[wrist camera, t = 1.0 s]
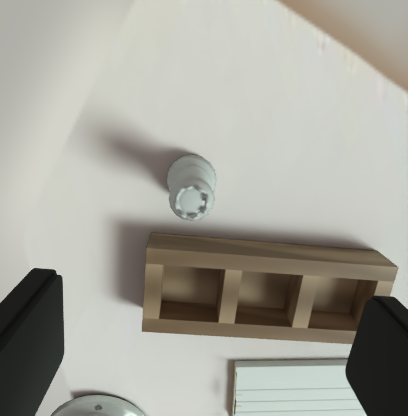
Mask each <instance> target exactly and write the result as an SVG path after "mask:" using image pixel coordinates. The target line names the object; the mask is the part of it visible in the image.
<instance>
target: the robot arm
mask: <svg viewBox="0 0 408 416" xmlns="http://www.w3.org/2000/svg"><path fill="white" fill-rule="evenodd" d="M63 355H64V319H63V281H62V276H61V275H57V273H56V271H55V270H52V269H40V268H34V269H32V270H31V271H30V272H29V273H28V274H27V276H25V277H24V279H23V280H22V281H21V282H20V283H19V284H18V285H17V286H16V287H15V288H14V289H13V290H12V291H11V292H10V293H9V294H8V295H7V297H6V298H5V299H4V300H3V301H2V302H1V303H0V416H35V414H36V412H37V410H38V408H39V406H40V404H41V402H42V400H43V398H44V396H45V394H46V392H47V390H48V388H49V386H50V384H51V382H52V380H53V378H54V376H55V374H56V372H57V370H58V368H59V366H60V364H61V362H62V359H63ZM345 374H346V378H347V381H348V382H349V384H350V386H351V388H352V390H353V392H354V393H355V395H356V397H357V399H358V401H359V402H360V404H361V406H362V408H363V410H364V411H365V413H366V415H367V416H408V309H407V308H406V307H404V306H403V305H402V304H401V303H400V302H399V301H398V300H397V299H396V298H395V297H390V296H377V295H375V296H373V297H372V298H371V299H370V300H367V301H366V303H365V306H364V309H363V312H362V315H361V319H360V322H359V325H358V328H357V332H356V335H355V338H354V341H353V345H352V348H351V351H350V354H349V358H348V361H347V364H346V368H345ZM51 416H145V415H144V413H142V412H141V411H140V410H139V409H138V408H137V407H135V406H134V405H132V404H130V403H129V402H127V401H124V400H122V399H119V398H115V397H111V396H104V395H90V396H83V397H79V398H75V399H73V400H70V401H68V402H66V403H64V404H63V405H61V406H60V407H58V408H57V409H56V410H55V411H54V412H53V413H52V415H51Z"/></svg>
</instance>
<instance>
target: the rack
mask: <svg viewBox="0 0 408 416" xmlns="http://www.w3.org/2000/svg"><path fill="white" fill-rule="evenodd" d="M398 268H399V267H397V266H396V265H395V264H394V263H392V262H391V261H390V260H388V259H387V258H386V257H385V256H383V255H382V254H381V253H380V252H378V251H372V250H359V249H347V248H334V247H322V246H309V245H297V244H284V243H272V242H259V241H247V240H234V239H222V238H209V237H197V236H185V235H172V234H160V233H151V235H150V238H149V241H148V245H147V248H146V266H145V284H144V302H143V320H142V332H158V333H175V334H191V335H208V336H225V337H242V338H258V339H275V340H292V341H309V342H326V343H342V344H353V341H354V338H355V335H356V332H357V328H358V325H359V322H360V319H361V315H362V312H363V309H364V306H365V303H366V301H367V300H370V299H371V298H372V297H373V296H375V295H377V296H390V293H391V290H392V287H393V284H394V280H395V277H396V274H397V271H398Z"/></svg>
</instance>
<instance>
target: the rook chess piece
mask: <svg viewBox="0 0 408 416" xmlns="http://www.w3.org/2000/svg"><path fill="white" fill-rule="evenodd" d="M167 184H168V188H169V191H170V196H169V202H170V206H171V209H172V210H173V211H174V213H175V214H176V215H177V216H179V217H180V218H182V219H185V220H190V221H194V220H199V219H202V218H203V217H205V216H206V215H208V214H209V212H210V211H211V209H212V208H213V205H214V200H215V198H214V189H215V185H216V175H215V170H214V169H213V167H212V165H211V164H210V162H208V161H207V160H205V159H204V158H203V157H200V156H196V155H187V156H182V157H181V158H179V159H178V160H176V161H175V162H174V163H173V164H172V166H171V167H170V169H169V171H168V176H167Z"/></svg>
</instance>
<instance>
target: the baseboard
mask: <svg viewBox="0 0 408 416" xmlns="http://www.w3.org/2000/svg"><path fill="white" fill-rule="evenodd" d="M347 361H348V359H328V360H261V361H235V366H234V383H233V401H232V416H367V415H366V413H365V411H364V410H363V408H362V406H361V404H360V402H359V401H358V399H357V397H356V395H355V393H354V392H353V390H352V388H351V386H350V384H349V382H348V381H347V378H346V374H345V368H346V364H347Z"/></svg>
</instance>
